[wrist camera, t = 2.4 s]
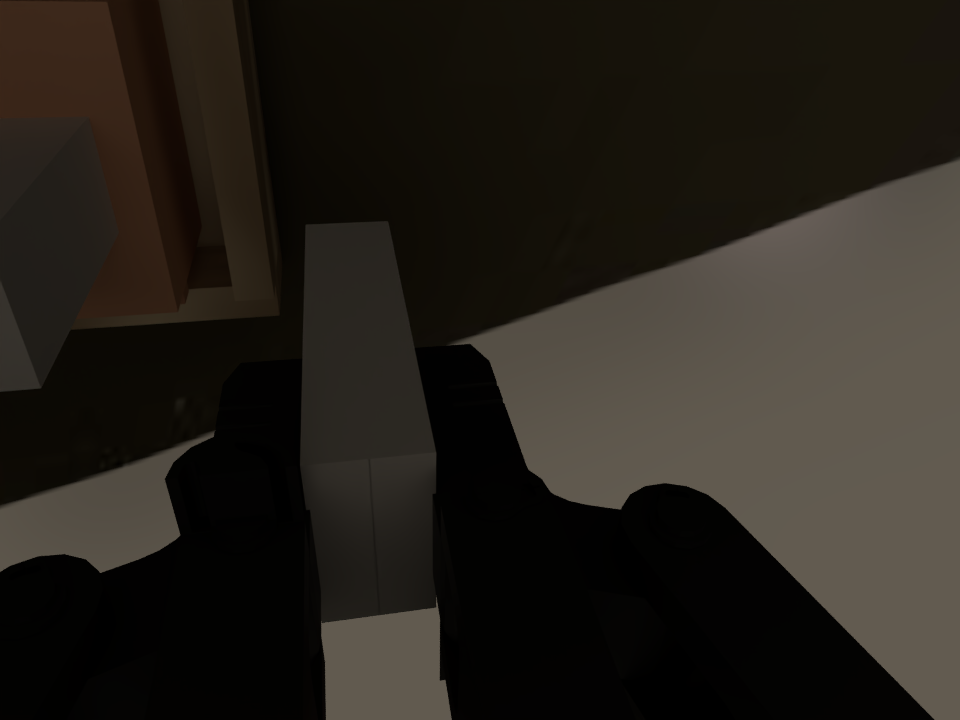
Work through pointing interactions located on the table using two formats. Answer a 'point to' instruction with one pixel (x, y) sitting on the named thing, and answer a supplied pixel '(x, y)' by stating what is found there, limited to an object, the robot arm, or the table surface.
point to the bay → (221, 166)
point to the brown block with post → (87, 175)
